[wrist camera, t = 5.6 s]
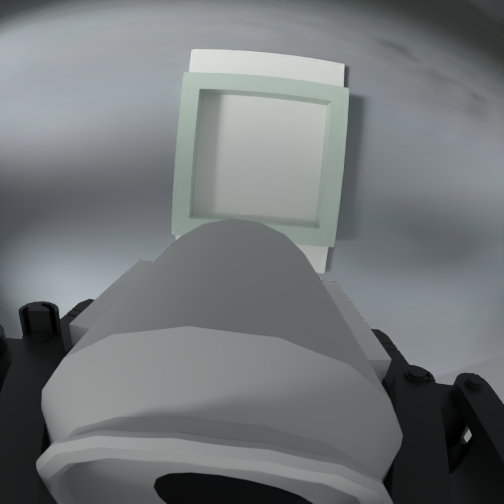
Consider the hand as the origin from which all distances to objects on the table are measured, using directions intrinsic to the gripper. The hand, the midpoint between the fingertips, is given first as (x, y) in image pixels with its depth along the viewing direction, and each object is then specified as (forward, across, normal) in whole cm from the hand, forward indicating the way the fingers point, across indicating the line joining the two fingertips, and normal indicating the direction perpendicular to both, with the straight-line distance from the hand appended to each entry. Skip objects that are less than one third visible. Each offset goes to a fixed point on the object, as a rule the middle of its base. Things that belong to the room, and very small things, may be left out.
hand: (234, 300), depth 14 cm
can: (+1, 0, 0) cm, 1 cm away
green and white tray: (+16, +1, +7) cm, 17 cm away
